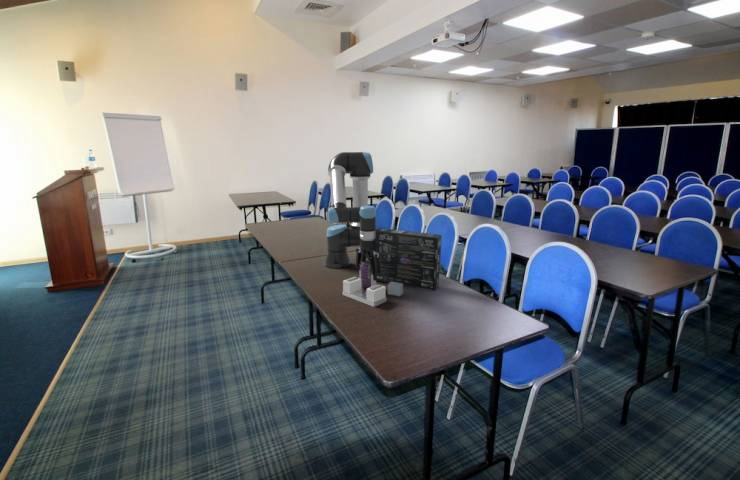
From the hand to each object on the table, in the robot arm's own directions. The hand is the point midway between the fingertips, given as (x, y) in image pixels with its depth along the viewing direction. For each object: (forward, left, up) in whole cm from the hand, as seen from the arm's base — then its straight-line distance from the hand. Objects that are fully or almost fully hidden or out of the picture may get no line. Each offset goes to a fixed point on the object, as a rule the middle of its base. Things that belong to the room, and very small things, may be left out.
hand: (367, 284), depth 179 cm
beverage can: (0, 0, -1) cm, 1 cm away
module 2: (+10, +15, 0) cm, 18 cm away
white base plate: (+10, +7, -2) cm, 13 cm away
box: (-18, +9, -2) cm, 20 cm away
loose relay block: (-4, +14, -2) cm, 15 cm away
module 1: (+10, 0, 0) cm, 10 cm away
